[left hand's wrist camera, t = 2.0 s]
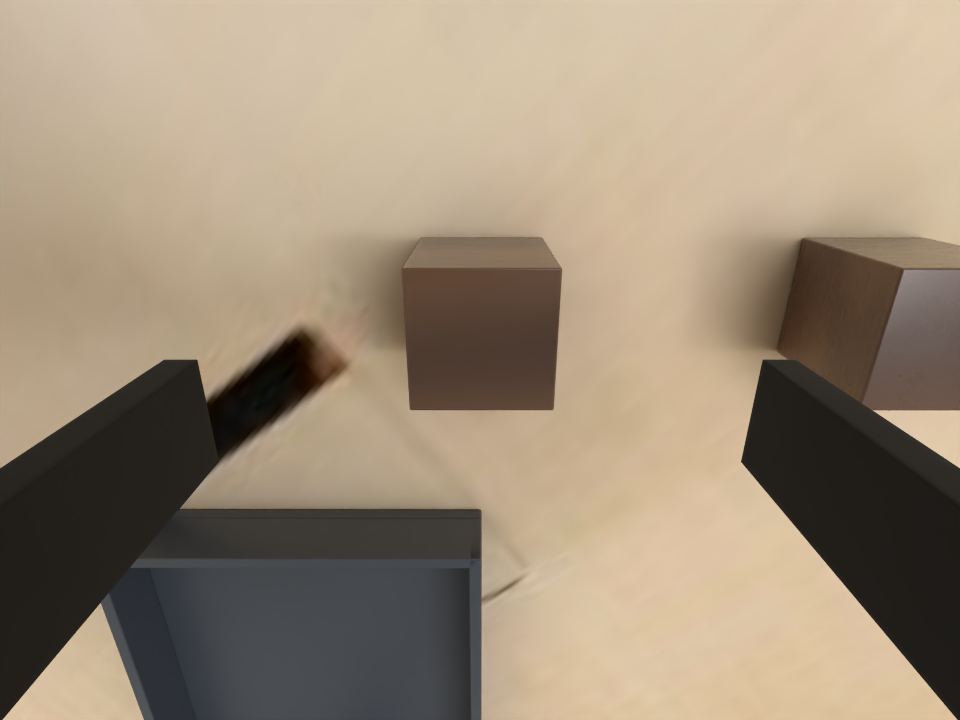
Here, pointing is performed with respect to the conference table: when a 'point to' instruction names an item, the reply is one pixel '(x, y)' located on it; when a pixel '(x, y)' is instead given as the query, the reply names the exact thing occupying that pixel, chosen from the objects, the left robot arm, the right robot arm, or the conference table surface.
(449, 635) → the tray
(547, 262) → the block
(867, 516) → the left robot arm
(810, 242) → the block
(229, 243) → the conference table surface
